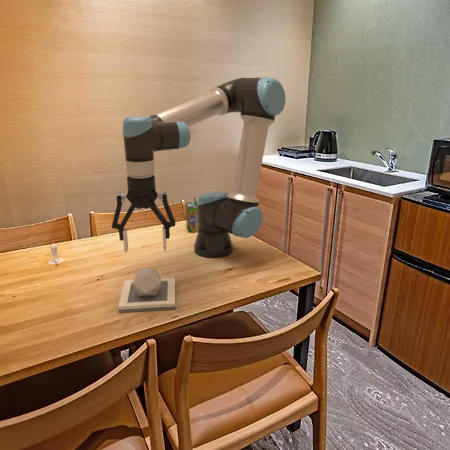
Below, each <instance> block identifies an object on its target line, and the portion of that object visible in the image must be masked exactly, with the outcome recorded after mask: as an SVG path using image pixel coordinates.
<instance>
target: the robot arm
mask: <svg viewBox="0 0 450 450" xmlns="http://www.w3.org/2000/svg"><path fill="white" fill-rule="evenodd" d="M285 91H286V90H285V89H284V87H283V85H282V83H281V82H280V81H279V80H278V79H276V78H273V77H267V76H263V77H262V76H261V77H239V78H236V79H235V78H234V79H232V80H230V81H227V82H224V83H222V84H219V85H218V86H215V87H212V88H211V89H210V91H209V92H208V93H205V94H203V95H201V96H198V97H195V98H193V99H191V100H188V101H185V102H183V103H181V104H178V105H175V106H172V107H171V108H167V109H165V110H162V111H159V112H157V113H155V114H152V115H150V116H145V115H144V116H143V115H142V116H135V115H134V116H126V117H125V118H124V119H123V121H122V137H123V144H124V155H125V156H124V157H125V169H126V175H128V176H126V182H127V183H126V184H127V192H126V194H124V193H120V192H119V193H118V194H117V196H116V208H115V211H114V215H113V219H112V224H111V228H112V229H114V230H118V235H119V240H120V241H121V242H123V248H124V253H128V251H129V241H128V230H127V229H128V228H127V227H126V224H127V223H128V221H129V219H130V218H131V216H132V215H133V212H134V210H135V209H137V210H140V209H150V210H151V211H152V212H153V213H154V216H156V218H157V219H158V220H159V222H160V223H161V224H162V242H163V243H162V244H163V251H167V239H168V240H169V239H170V238H171V237H170V236H171V234H170V232H171V231H170V229H171V228H173V227H175V226H176V219H175V217H174V214H173V212H172V210H171V206H170V203H169V201H168V193H167V192H166V191H164V192H163V193H162V192H161V193H160V192H159V193H158V192H157V190H156V177H155V175H154V174H155V172H156V171H155V158H154V156H155V155H154V154H155V153H154V152H161V151H171V150H179V149H183V148H186V147H188V145H189V144H190V142H191V129H190V127H191V126H193V125H197V124H198V123H201V122H202V121H205V120H208V119H210V118H213V117H214V116H216V115H219V116H224V115H226V114H230V113H240V118H241V120H242V122H243V126H242V131H241V137H240V143H239V148H238V154H237V159H236V166H235V171H234V177H233V181H232V189H231V191H230V192H229V193H228V192H225V191H212V192H205V193H202V194H200V195H199V196H198V198H197V202H198V205H197V206H198V232H197V235H196V237H195V241H194V244H193V248H194V253H195V254H196V255H198V256H200V257H204V258H210V259H217V258H223V257H227V256H229V255H231V254H232V253H233V251H234V245H233V242H232V238H231V235H233V236H235V237H240V238H242V239H247V238H251V237H252V236H254V235H256V233H257V232H258V231H259V230H260V228H261V226H262V224H263V221H264V213H263V211H262V209H260V207H259V204H260V200H259V198H258V197H257V192H258V191H257V190H258V186H259V180H260V175H261V169H262V164H263V158H264V154H265V148H266V143H267V137H268V133H269V127H270V126H271V125H272V124H274V123H275V119H276V116H279V115H280V114H281V113H282V112H283V111H284V108H285V106H286V92H285ZM126 199H127V200H128V201H129V203H131V204H130V206H129V208H128V209H127V211H126V213H125V215H124V217H123V218H122V220H121V222H120V223H118V222H119V219H120V214H121V211H122V207H123V203H125V202H126ZM157 199H159V201H161V202H162V205H163V208H164V210H165V212H166V215H167V218H168V220H167V218H166V217H165V216H164V214H163V213H162V212H161V210H160V208H159V207H158V206H157V205H158V204H157V203H155V201H156V200H157ZM230 234H231V235H230Z"/></svg>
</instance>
